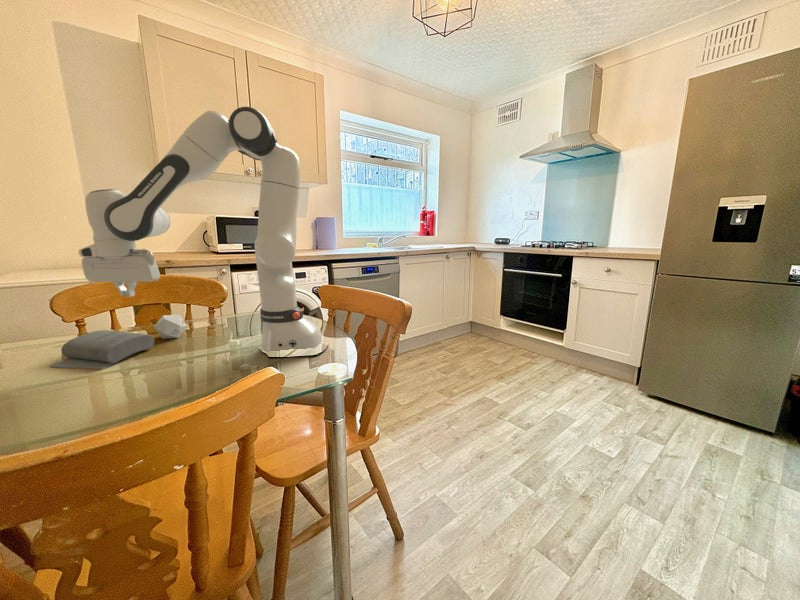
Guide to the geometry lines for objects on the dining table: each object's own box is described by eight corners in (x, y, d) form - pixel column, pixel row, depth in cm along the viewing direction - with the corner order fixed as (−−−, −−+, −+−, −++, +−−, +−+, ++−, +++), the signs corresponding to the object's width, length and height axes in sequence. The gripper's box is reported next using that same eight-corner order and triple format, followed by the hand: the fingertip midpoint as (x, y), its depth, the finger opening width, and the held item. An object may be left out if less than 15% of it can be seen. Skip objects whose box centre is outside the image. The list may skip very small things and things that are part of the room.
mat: (147, 347, 108) (147, 346, 108) (102, 369, 93) (102, 367, 92) (102, 345, 109) (102, 344, 109) (50, 367, 93) (50, 365, 93)
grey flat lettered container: (104, 347, 92) (51, 341, 96) (108, 365, 94) (56, 358, 98) (153, 330, 106) (105, 325, 110) (156, 346, 108) (109, 341, 112)
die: (168, 345, 112) (184, 319, 114) (143, 332, 111) (161, 307, 113) (179, 344, 120) (195, 321, 122) (157, 333, 119) (173, 309, 121)
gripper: (160, 247, 94) (169, 293, 98) (94, 248, 95) (106, 293, 99) (142, 250, 88) (153, 298, 92) (72, 250, 89) (85, 298, 93)
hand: (128, 296), depth 95 cm, fingers closed
